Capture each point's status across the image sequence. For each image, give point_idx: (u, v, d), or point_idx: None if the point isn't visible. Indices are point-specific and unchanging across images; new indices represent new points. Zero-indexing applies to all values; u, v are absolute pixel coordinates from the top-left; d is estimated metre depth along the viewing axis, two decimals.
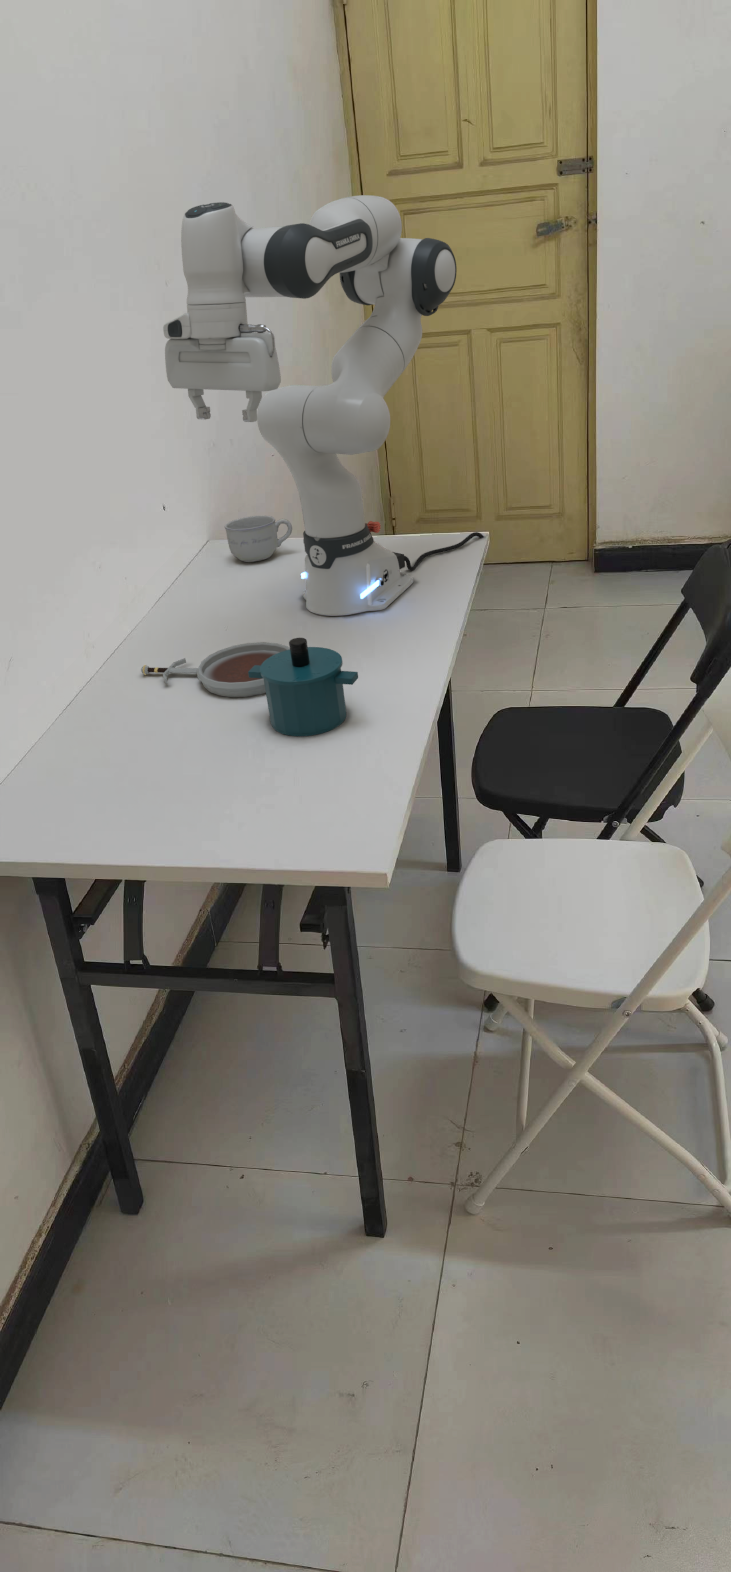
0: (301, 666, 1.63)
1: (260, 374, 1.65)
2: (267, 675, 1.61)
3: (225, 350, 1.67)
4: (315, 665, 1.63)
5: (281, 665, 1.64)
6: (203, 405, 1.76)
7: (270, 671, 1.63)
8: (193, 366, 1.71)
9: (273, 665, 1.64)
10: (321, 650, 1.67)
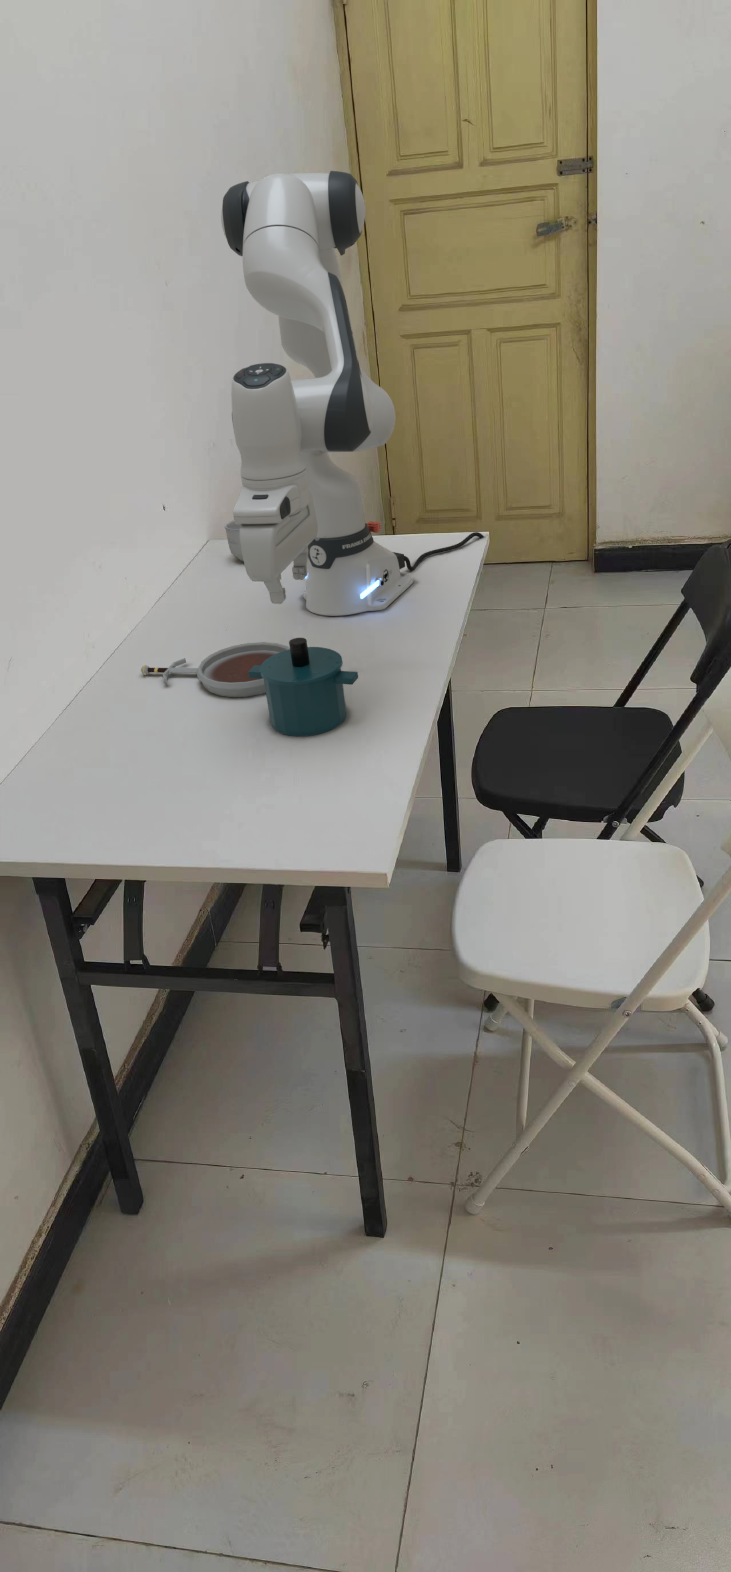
0: (301, 666, 1.63)
1: (315, 521, 1.61)
2: (267, 675, 1.61)
3: None
4: (315, 665, 1.63)
5: (281, 665, 1.64)
6: None
7: (270, 671, 1.63)
8: (284, 544, 1.50)
9: (273, 665, 1.64)
10: (321, 650, 1.67)
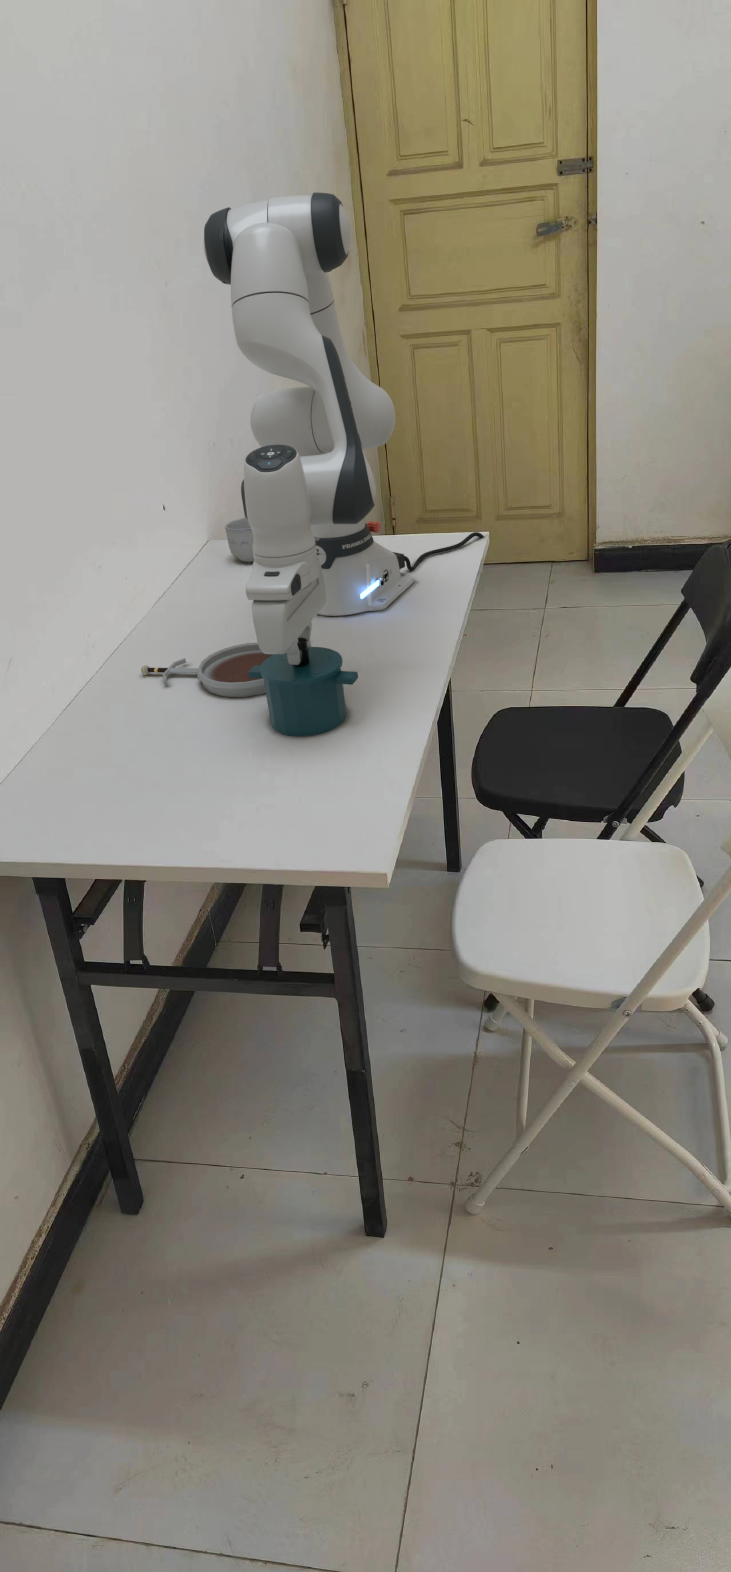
0: (301, 666, 1.63)
1: (324, 589, 1.67)
2: (267, 675, 1.61)
3: None
4: (315, 665, 1.63)
5: (281, 665, 1.64)
6: None
7: (270, 671, 1.63)
8: (294, 617, 1.55)
9: (273, 665, 1.64)
10: (321, 650, 1.67)
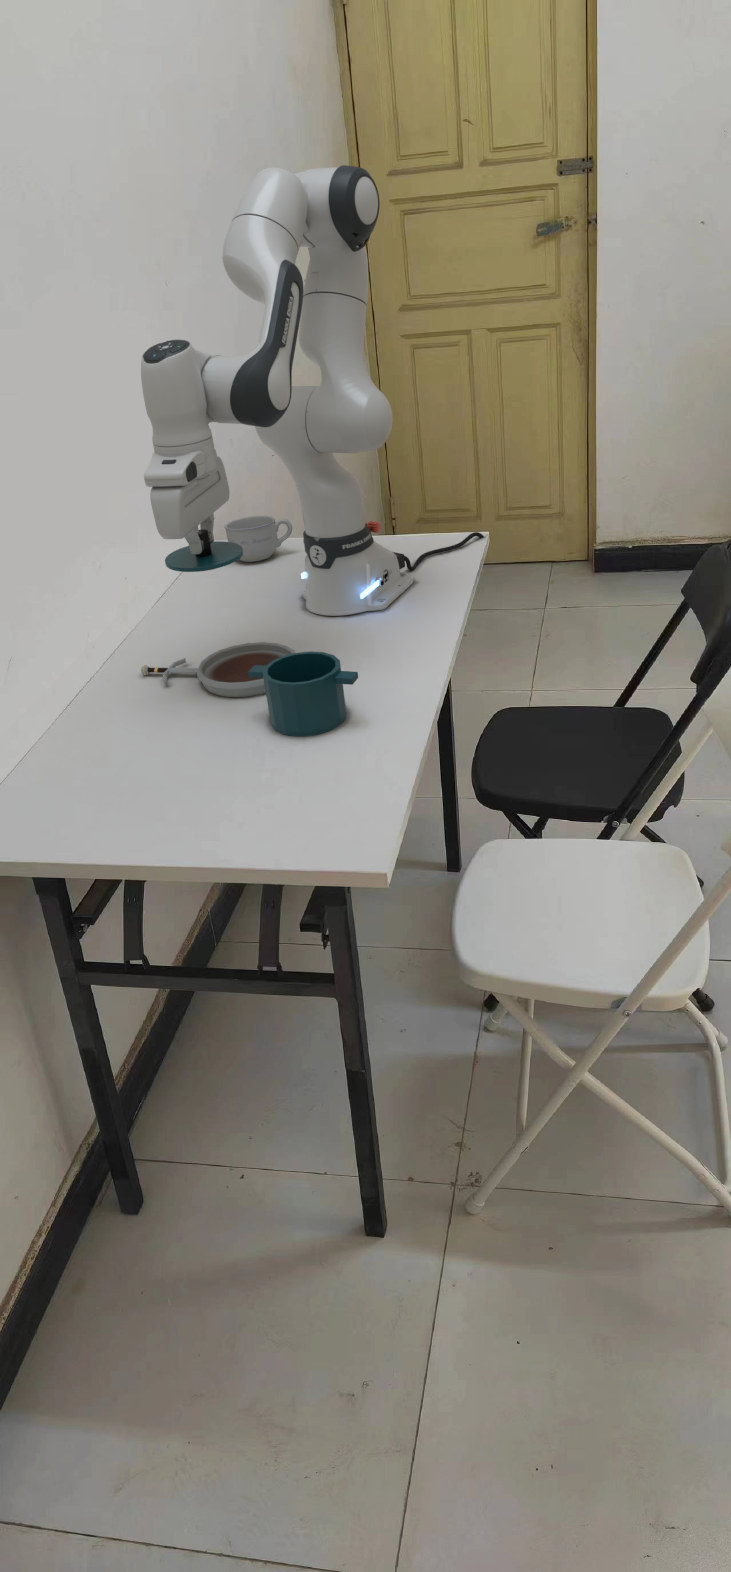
0: (203, 556, 1.72)
1: (226, 486, 1.76)
2: (170, 564, 1.71)
3: None
4: (216, 555, 1.73)
5: (185, 556, 1.74)
6: None
7: (174, 561, 1.72)
8: (193, 506, 1.65)
9: (178, 556, 1.74)
10: (224, 544, 1.77)
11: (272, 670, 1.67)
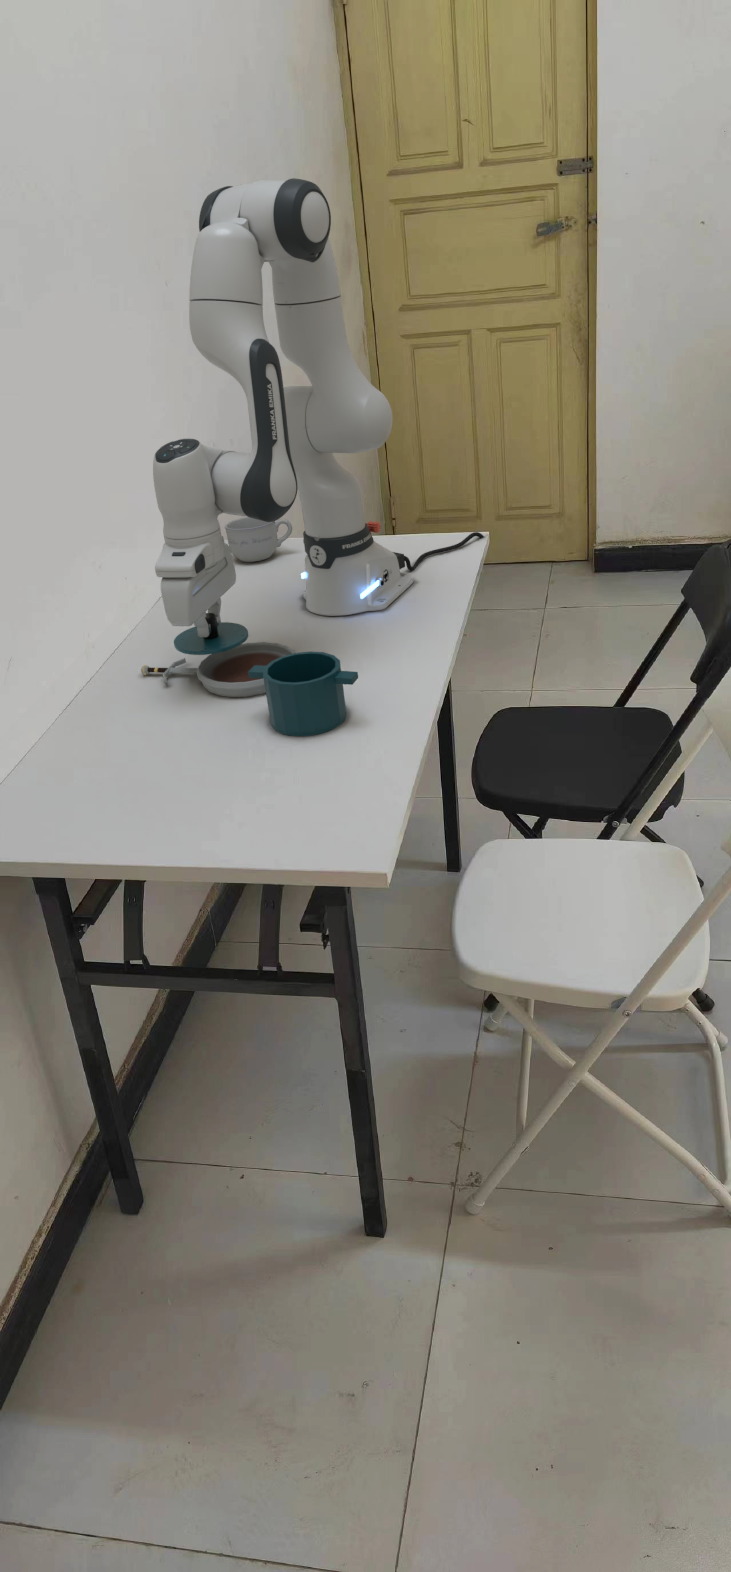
0: (210, 638, 1.81)
1: (233, 570, 1.85)
2: (179, 646, 1.80)
3: None
4: (223, 637, 1.81)
5: (193, 638, 1.82)
6: None
7: (182, 643, 1.81)
8: (201, 594, 1.74)
9: (186, 638, 1.82)
10: (231, 625, 1.85)
11: (272, 670, 1.67)
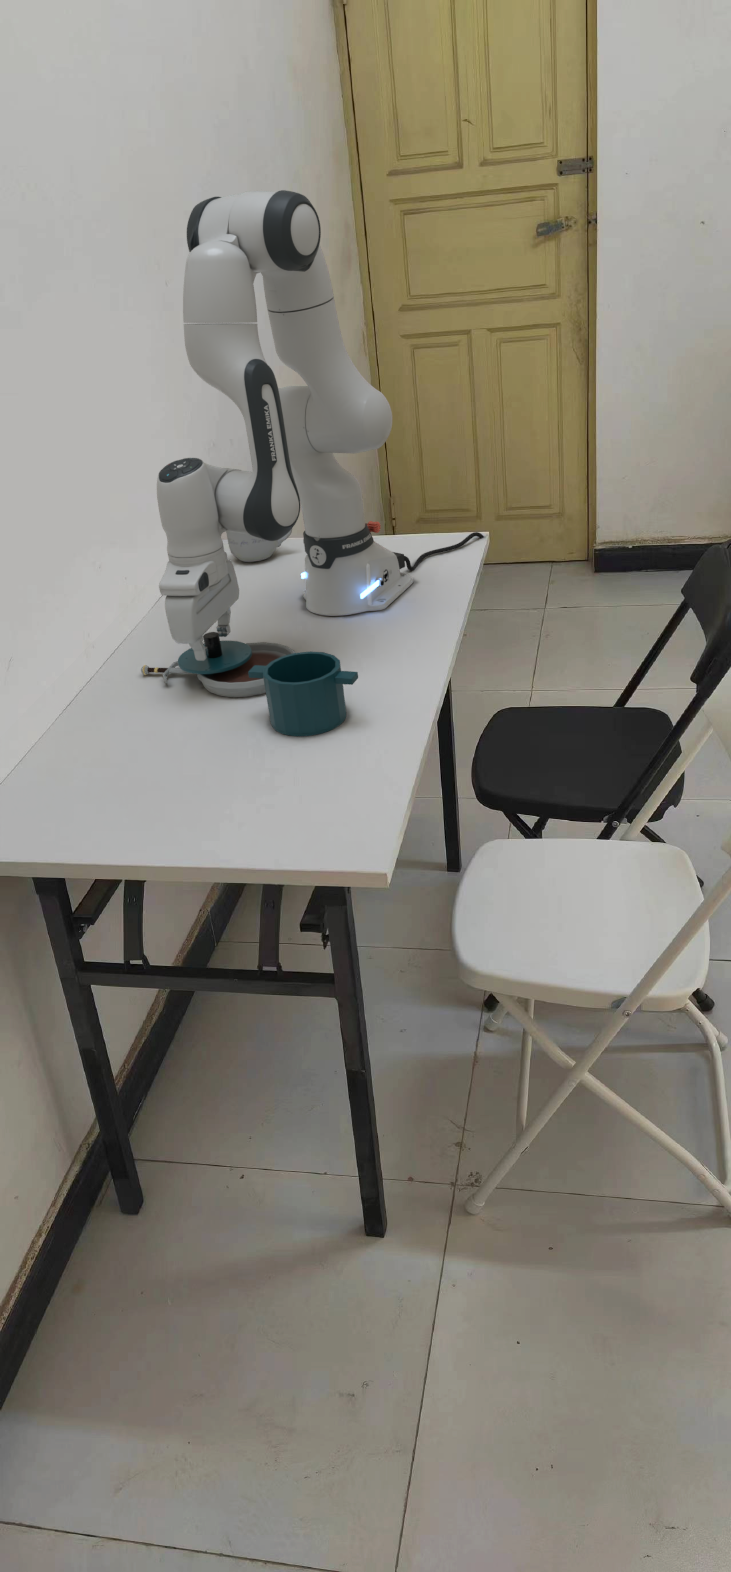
0: (214, 657, 1.82)
1: (236, 586, 1.86)
2: (183, 665, 1.81)
3: None
4: (227, 656, 1.82)
5: None
6: None
7: (186, 662, 1.82)
8: (205, 611, 1.75)
9: (190, 657, 1.84)
10: (234, 643, 1.87)
11: (272, 670, 1.67)
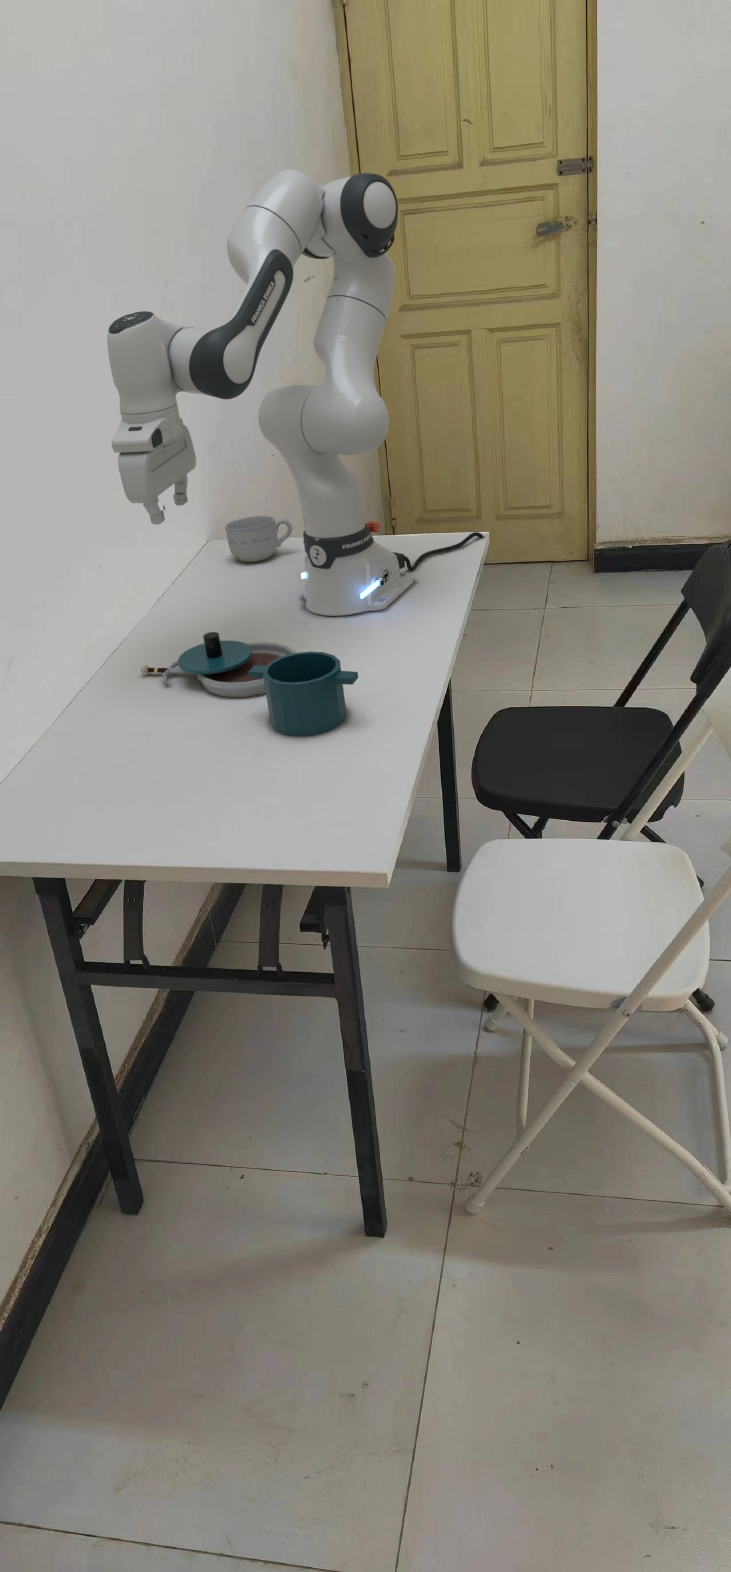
0: (214, 657, 1.82)
1: (193, 453, 1.84)
2: (183, 665, 1.81)
3: None
4: (227, 656, 1.82)
5: (197, 656, 1.84)
6: None
7: (186, 662, 1.82)
8: (159, 471, 1.72)
9: (190, 657, 1.84)
10: (234, 643, 1.87)
11: (272, 670, 1.67)
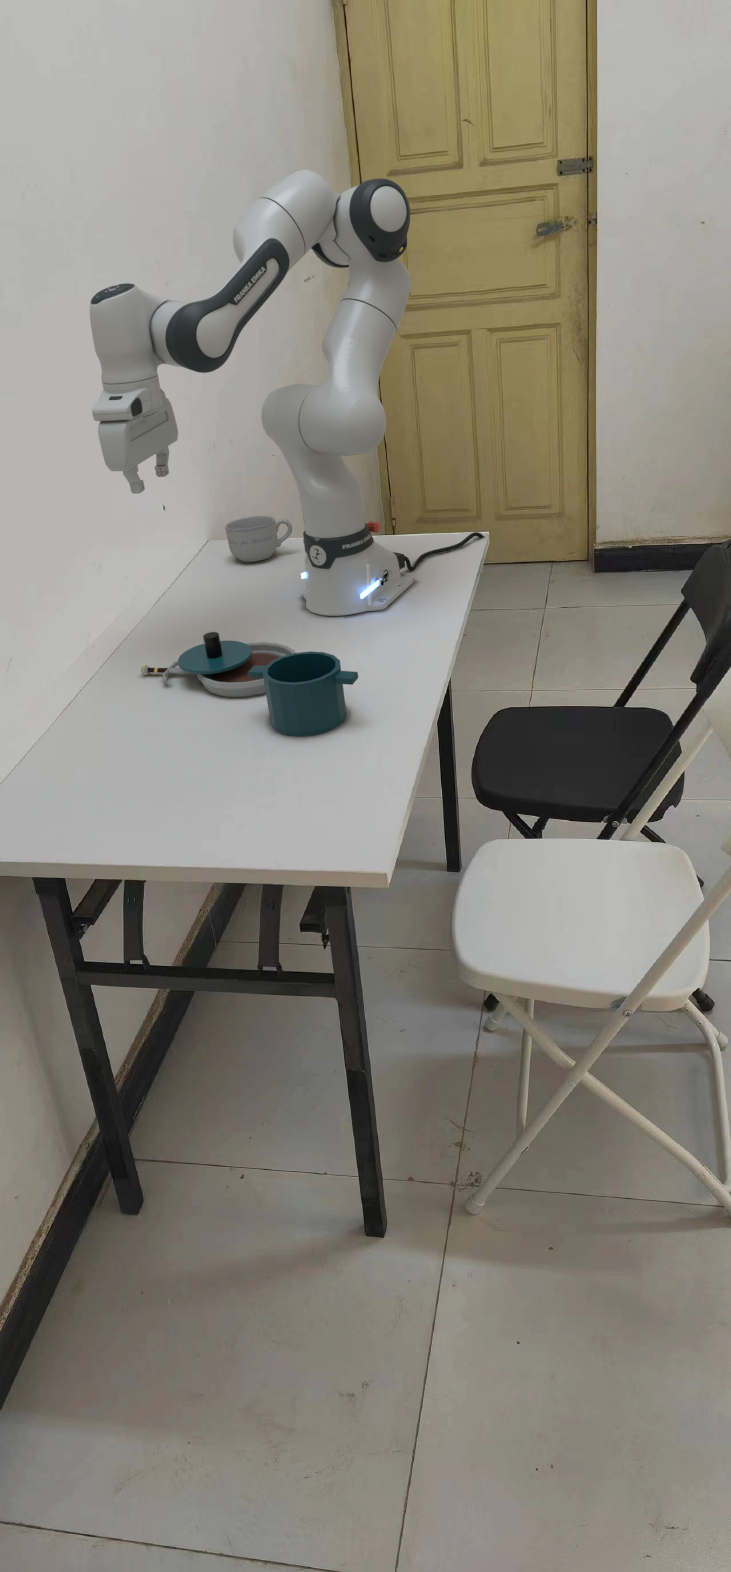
0: (214, 657, 1.82)
1: (174, 426, 1.87)
2: (183, 665, 1.81)
3: None
4: (227, 656, 1.82)
5: (197, 656, 1.84)
6: None
7: (186, 662, 1.82)
8: (139, 441, 1.76)
9: (190, 657, 1.84)
10: (234, 643, 1.87)
11: (272, 670, 1.67)
